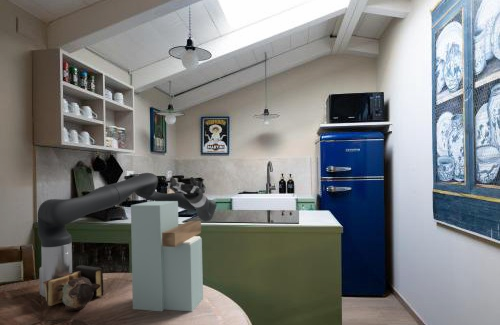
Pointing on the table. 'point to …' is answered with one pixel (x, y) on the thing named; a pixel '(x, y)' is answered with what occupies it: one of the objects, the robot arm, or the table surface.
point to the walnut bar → (180, 233)
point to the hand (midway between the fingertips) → (181, 179)
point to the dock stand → (163, 261)
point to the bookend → (75, 287)
